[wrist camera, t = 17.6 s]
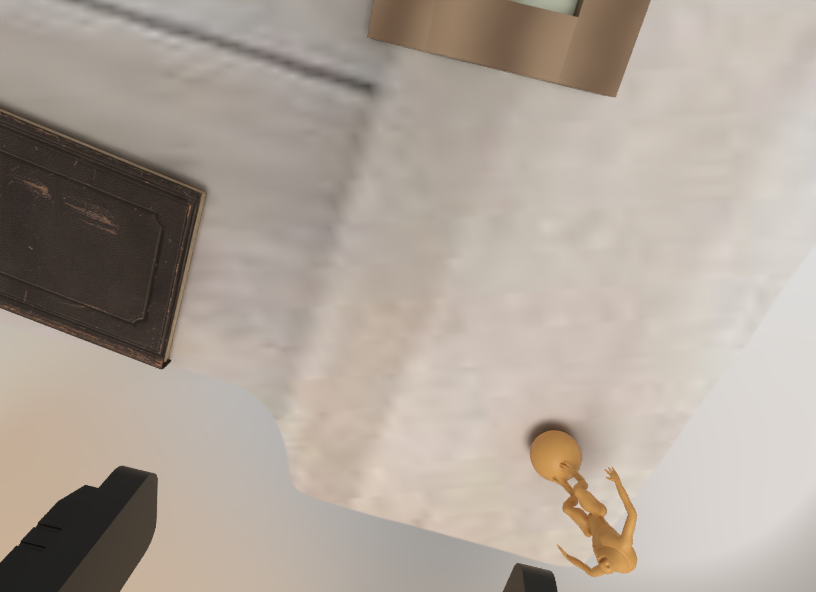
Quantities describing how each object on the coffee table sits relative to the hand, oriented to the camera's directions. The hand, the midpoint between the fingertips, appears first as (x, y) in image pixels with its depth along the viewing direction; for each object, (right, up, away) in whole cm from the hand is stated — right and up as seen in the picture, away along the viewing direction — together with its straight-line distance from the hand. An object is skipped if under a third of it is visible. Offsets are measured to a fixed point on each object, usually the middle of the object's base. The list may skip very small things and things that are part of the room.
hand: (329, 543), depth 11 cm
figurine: (+15, -7, +32) cm, 36 cm away
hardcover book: (-26, +11, +30) cm, 41 cm away
